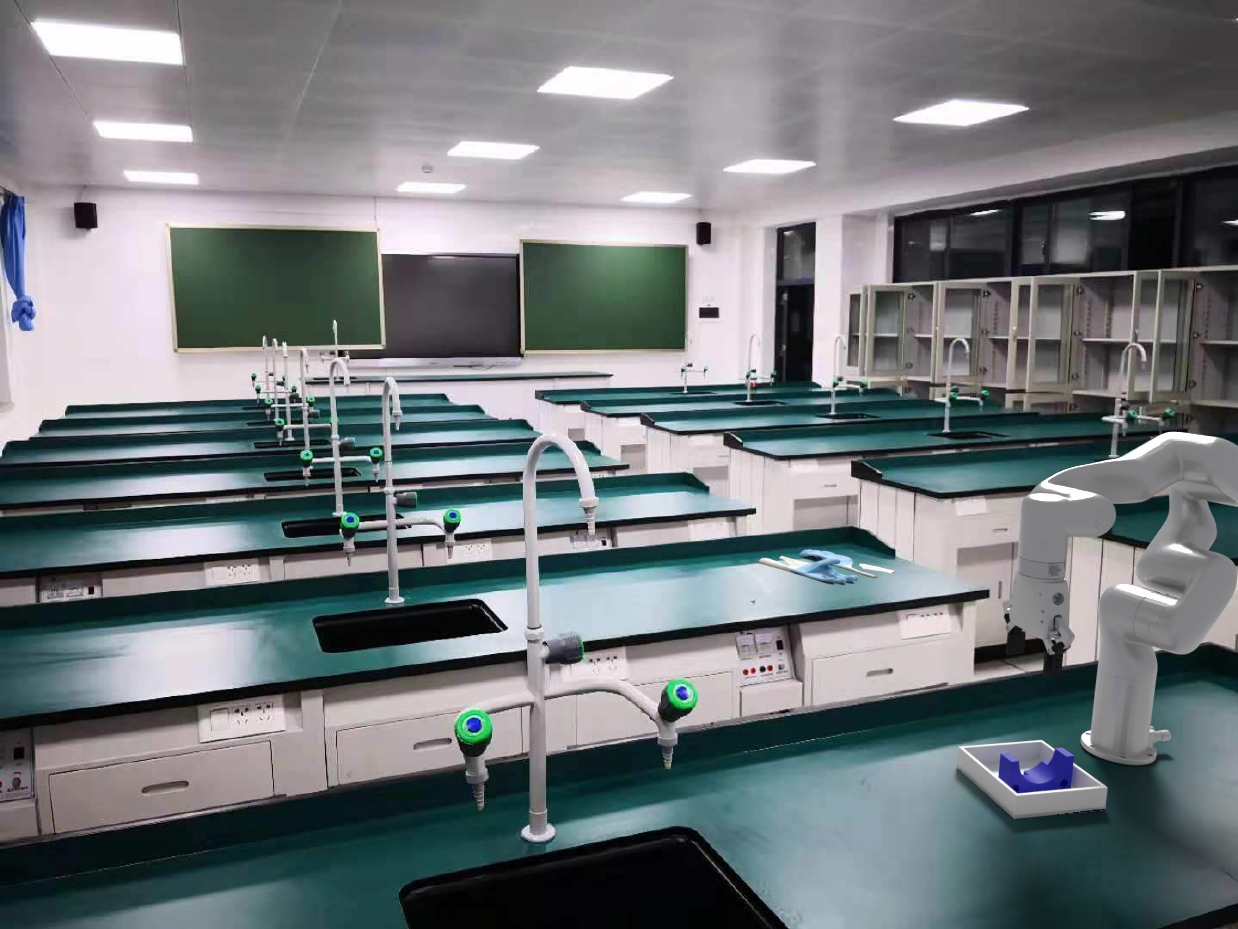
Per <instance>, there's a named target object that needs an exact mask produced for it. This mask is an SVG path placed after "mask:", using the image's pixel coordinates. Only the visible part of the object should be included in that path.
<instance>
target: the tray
mask: <svg viewBox="0 0 1238 929" xmlns="http://www.w3.org/2000/svg"><path fill="white" fill-rule="evenodd" d="M1054 750H1055V748H1054V747H1052V746H1051V745H1050V744H1048V743H1047V742H1045V741H1044V740H1043V739H1037V740H1027V741H1026V740H1025V741H1015V742H1000V743H990V744H989V743H988V744H976V745H974V744H973V745H963V746H960V745H959V746H958V748H957V758H956V759H957V760H956V768H957V770H959V771H960V772H961V773H962V774H963V775H964V776H965V777H967V778H968V779H969V780H970V781H971V782H972V783H973V784H974V785H976V786H977V788H979V789H980V790H981V791H982V792H983V793H984V794H986V795H987V796H988V797H989V798H990V799H991V800H992V801H994V803H996V804H997V805H998V806H999V807H1000V808H1002V810H1004V811H1005V813H1007V814H1008V815H1009V816H1010V817H1011V818H1013V819H1014V820H1017V819H1024V818H1035V817H1036V818H1037V817H1045V816H1046V817H1047V816H1055V815H1057V814H1059V815H1066V814H1065V813H1069V814H1074V813H1073V812H1079V813H1081V812H1080V811H1086V810H1093V809H1105V810H1106V803H1107V796H1108V787H1107V786H1106V785H1105V784H1104V783H1103V782H1101V781H1099V780H1098V779H1097V778H1095V777H1094V776H1092V775H1091V774H1090V773H1088V772H1087V771H1086V770H1084V769H1083V768H1082V767H1080V766H1078V765H1077V764H1076V763H1075V762H1074V763H1073V772H1072V781H1071V788H1070V789H1061V790H1051V791H1040V792H1029V793H1018V794H1017V793H1016V792H1015V791H1014V790H1013V789H1011V788H1010V787H1009V786H1008V785H1007V784H1006V783H1004V782H1003V781H1002V780H1001V779H1000V778H998V775H999V764H1000V753H1010V754H1011V755H1012V756H1013V757H1015V758H1016V759H1017V760H1019V767H1020V771H1021V774H1024V771H1025V770H1029V769H1032V768H1034V767H1035V766H1037V765H1038V764H1039V763H1040V762H1041V761H1047V760H1051V759H1052V757H1053V754H1054Z"/></svg>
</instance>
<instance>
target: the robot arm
mask: <svg viewBox="0 0 1238 929" xmlns="http://www.w3.org/2000/svg"><path fill="white" fill-rule="evenodd" d="M1167 488H1168V497H1169V498H1168V499H1169V508H1168V510H1169V511H1168V515H1167V518H1166V520H1165V522H1164V523H1163V525H1162V526H1161V528H1160V529H1159V530H1158V532H1157V533H1156V534H1155V536H1154V538H1153V539H1152V540H1151V541H1150V543H1149V545H1148V546H1147V547H1146V549H1145V551H1143V553H1142V555H1141V556H1140V557H1139V559H1138V562H1137V564H1136V567H1135V568H1136V569H1135V576H1136V578H1137V580H1138V581H1139V582H1140V583H1141V584H1142V585H1144V586H1146V587H1147V588H1146V587H1142V586H1139V585H1135V584H1131V583H1117V584H1113V585H1111V586H1109V587H1108V588H1106V589H1105V590H1104V591H1103V593H1101V596H1100V597H1099V600H1098V605H1097V614H1098V615H1097V616H1098V625H1099V655H1098V663H1097V664H1098V665H1097V670H1096V671H1097V672H1096V681H1095V682H1096V683H1095V688H1094V700H1093V707H1092V717H1091V725H1090V726H1091V727H1090V730H1087V731H1085V732H1083V733H1082V734H1081V735H1080V736H1081V737H1080V744H1081V747H1082V748H1084V750H1086V752H1088V753H1090V754H1091V755H1093V756H1095V757H1097V758H1100V759H1103V760H1106V761H1108V762H1112V763H1117V764H1121V765H1128V766H1145V765H1149V764H1152V763H1153V762H1154V761H1156V759H1157V754H1158V752H1157V749H1156V748H1155V747H1154V744H1156V743H1157V742H1165V741H1166V742H1167V741H1171V739H1172V734H1171V732H1170V731H1169V730H1168V729H1161V730H1156V729H1155V727H1154V726H1153V725H1151V722H1152V715H1153V708H1154V707H1153V706H1154V697H1155V690H1156V689H1155V688H1156V683H1157V682H1156V681H1157V675H1158V674H1157V673H1158V661H1157V659H1158V658H1157V657H1156V656H1157V655H1156V651H1155V649H1154V648H1157V649H1160V650H1162V651H1164V652H1165V651H1166V652H1168V653H1172V654H1174V655H1175V654H1176V655H1187V654H1190V653H1191V652H1193V651H1195V650H1196V649H1197V648H1198V647H1199V646H1200V645H1201V643H1202V642H1203V641H1204V639H1205V638H1206V637H1207V635H1208V634H1209V632H1210V631H1211V630H1212V627H1213V626H1214V625H1215V623H1216V621H1217V620H1218V619H1219V618H1220V616H1221V615H1222V613H1223V611H1224V610H1225V609H1226V608H1227V606H1228V604H1229V603H1230V601H1231V599H1232V597H1233V596H1234V593H1235V591H1236V587H1237V583H1238V570H1237V567H1236V565H1235V563H1234V562H1233V560H1231V559H1230V558H1229V557H1228V556H1226V555H1224V554H1221V553H1219V552H1216V551H1211V550H1210V549H1211V547H1212V545H1213V544H1214V543H1215V540H1216V538H1217V535H1218V528H1217V524H1216V521H1215V518H1214V515H1213V514H1212V512H1211V509H1210V506H1209V503H1208V502H1212V503H1216V504H1217V503H1218V504H1222V505H1227V506H1231V507H1232V506H1233V507H1236V508H1237V507H1238V445H1237V444H1235V443H1234V442H1231V441H1230V440H1227V439H1225V438H1222V437H1217V436H1212V435H1210V436H1209V435H1203V434H1197V433H1196V434H1195V433H1189V432H1182V431H1181V432H1180V431H1178V432H1177V431H1169V432H1165V433H1161V434H1159V435H1157V436H1155V437H1154V438H1151V439H1150V440H1148V441H1146V442H1145V443H1143V444H1142V445H1139V446H1138V447H1136V448H1135V449H1132V450H1131V451H1129V452H1127V453H1125V454H1124V455H1122V456H1120V457H1118V458H1115V459H1107V460H1102V461H1098V462H1093V463H1089V464H1088V463H1087V464H1084V465H1078V466H1074V467H1073V466H1072V467H1070V468H1067V469H1064V470H1062V471H1059V472H1057V473H1055V474H1052V476H1049V477H1048V478H1046V479H1044V480H1042V481H1041V482H1040V483H1039V484H1037V485H1036V486H1035V487H1034V488H1033V489H1032V490H1031V491H1030V493H1029V494H1028V495H1027V494H1026V496H1025V497H1024V498H1023V499H1022V502H1021V507H1020V518H1019V519H1020V522H1019V531H1018V532H1019V533H1018V544H1017V545H1018V546H1017V547H1018V548H1017V559H1016V570H1015V574H1014V578H1013V582H1012V588H1011V592H1010V593H1011V594H1010V599H1008V600H1005V601H1002V609H1003V613H1004V615H1003V618H1004V621H1005V623H1006V625H1005V630H1006V632H1007V636H1006V637H1007V640H1006V641H1007V642H1006V651H1005V652H1006V654H1007V655H1009V656H1012V655H1013V656H1014V655H1021V654H1022V655H1023V654H1024V653H1025V649H1026V633H1029V634H1030V635H1032V636H1034V637H1035V638H1038V639H1040V640H1042V641H1043V643H1044V646H1045V648H1046V651H1047V652H1044V653H1043V654H1044V655H1043V665H1042V666H1043V667H1042V675H1043V676H1044V677H1046V678H1047V677H1056V676H1061V675H1062V673H1063V664H1064V654H1066V653H1067V652H1068V650H1069V649H1070V648H1071V646H1072V644H1073V642H1074V640H1075V638H1076V637H1075V633H1074V632H1073V631H1072V629H1070V607H1071V606H1070V592H1069V591H1070V590H1069V584H1068V581H1067V580H1066V572H1067V571H1066V570H1067V562H1068V561H1067V559H1068V547H1069V539H1070V538H1087V539H1088V538H1091V539H1092V538H1098V537H1100V536H1102V535H1105V534H1106V533H1108V531H1109V530H1111V528H1112V527H1113V526H1114V524H1115V522H1116V518H1117V513H1116V507H1115V505H1114V504H1117V505H1118V504H1120V505H1121V504H1123V505H1124V504H1136V503H1143V502H1146V501H1148V500H1150V499H1151V498H1153V497H1154V496H1156V495H1157V494H1159V493H1160V492H1162V491H1163V490H1165V489H1167ZM1050 633H1051V634H1050ZM1052 641H1055V644H1053V642H1052Z"/></svg>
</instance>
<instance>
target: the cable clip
mask: <svg viewBox="0 0 1238 929" xmlns="http://www.w3.org/2000/svg"><path fill="white" fill-rule="evenodd" d="M1054 749H1055V750H1054V754H1053V757H1052V759H1051V760H1047V761H1041V762H1040V763H1039V764H1038V765H1037V766H1035V767H1034V768H1032V769H1029V770H1025V771H1024V774H1021V771H1020V767H1019V760H1017V759H1016V758H1015V757H1013V756H1012V755H1011V754H1010V753H1000V764H999V775H998V778H1000V779H1001V780H1002V781H1003V782H1004V783H1006V784H1007V785H1008V786H1009V787H1010V788H1011V789H1013V790H1014V791H1015V792H1016V793H1017V794H1018V793H1029V792H1040V791H1051V790H1061V789H1070V788H1071V781H1072V772H1073V763H1074V764H1075V755H1074V754H1073V753H1071V752H1070V751H1068V750H1067V749H1065V748H1064V747H1055V748H1054Z"/></svg>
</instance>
